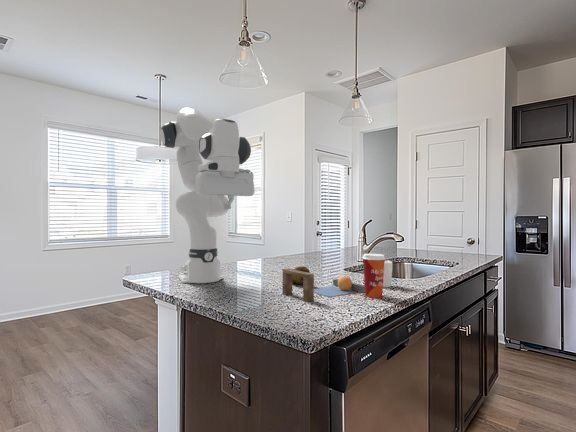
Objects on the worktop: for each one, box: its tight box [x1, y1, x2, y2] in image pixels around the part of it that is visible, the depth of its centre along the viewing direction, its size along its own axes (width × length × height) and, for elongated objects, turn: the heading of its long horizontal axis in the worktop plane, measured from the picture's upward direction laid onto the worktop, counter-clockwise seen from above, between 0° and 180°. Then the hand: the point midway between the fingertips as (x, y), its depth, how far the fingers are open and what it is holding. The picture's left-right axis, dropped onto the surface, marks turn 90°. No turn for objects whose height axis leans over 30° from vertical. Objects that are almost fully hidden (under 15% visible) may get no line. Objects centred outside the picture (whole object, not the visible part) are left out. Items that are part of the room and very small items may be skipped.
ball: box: [337, 275, 352, 291], centre depth 133 cm, size 6×6×6 cm
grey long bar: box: [332, 278, 365, 294], centre depth 136 cm, size 18×2×2 cm, turn 35°
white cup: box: [383, 260, 394, 288], centre depth 142 cm, size 8×8×10 cm
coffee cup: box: [362, 253, 386, 299], centre depth 124 cm, size 8×8×15 cm
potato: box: [292, 266, 311, 285], centre depth 144 cm, size 8×13×8 cm, turn 13°
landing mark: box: [314, 285, 357, 298], centre depth 131 cm, size 13×13×1 cm
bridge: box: [282, 268, 315, 303], centre depth 122 cm, size 3×14×9 cm, turn 35°
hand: (225, 209), depth 114 cm, fingers closed
